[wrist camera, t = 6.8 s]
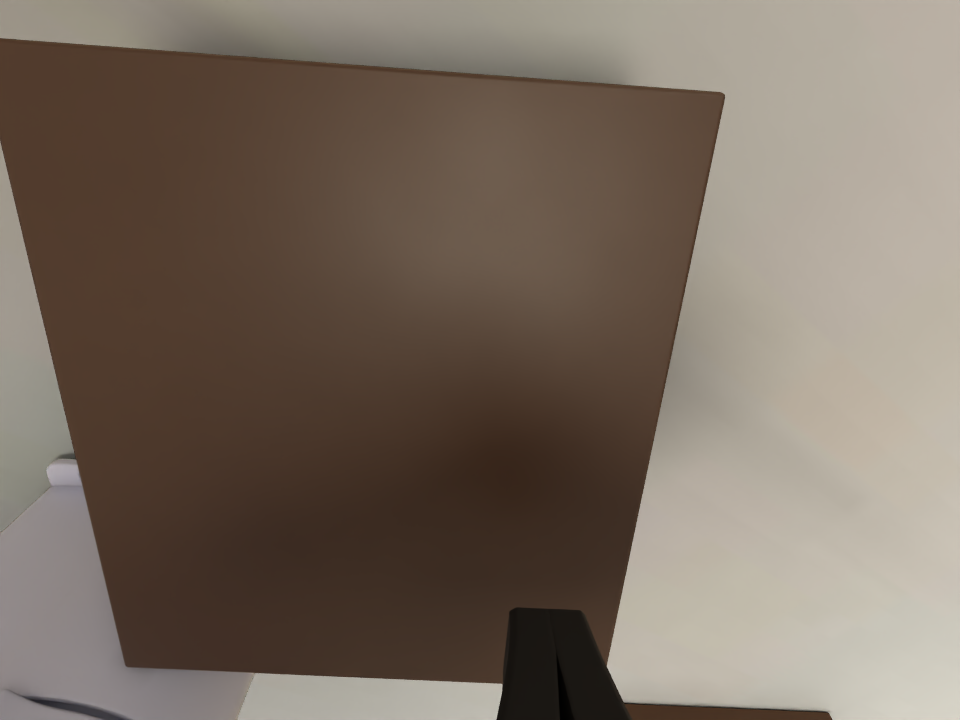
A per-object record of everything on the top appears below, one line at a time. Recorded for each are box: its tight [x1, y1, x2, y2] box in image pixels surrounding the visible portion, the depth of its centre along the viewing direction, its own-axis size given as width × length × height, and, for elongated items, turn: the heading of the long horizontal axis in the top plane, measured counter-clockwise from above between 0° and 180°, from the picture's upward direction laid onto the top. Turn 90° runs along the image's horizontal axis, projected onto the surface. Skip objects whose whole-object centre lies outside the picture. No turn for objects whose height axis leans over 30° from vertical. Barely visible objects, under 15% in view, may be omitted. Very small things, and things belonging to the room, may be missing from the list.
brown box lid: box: [0, 38, 725, 684], centre depth 12 cm, size 14×13×1 cm
